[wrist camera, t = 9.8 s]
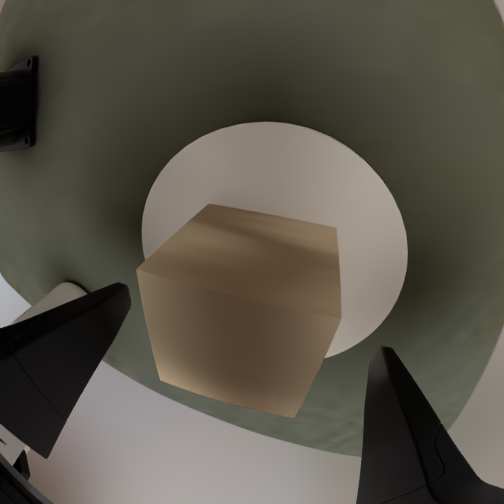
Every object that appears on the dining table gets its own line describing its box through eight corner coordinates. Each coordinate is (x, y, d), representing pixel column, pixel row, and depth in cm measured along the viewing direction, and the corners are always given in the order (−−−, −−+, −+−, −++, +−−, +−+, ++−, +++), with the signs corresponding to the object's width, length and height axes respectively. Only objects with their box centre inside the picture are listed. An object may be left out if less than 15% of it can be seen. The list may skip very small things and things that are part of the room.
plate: (162, 320, 16) (155, 330, 16) (150, 114, 10) (137, 116, 9) (352, 365, 14) (353, 378, 14) (435, 159, 8) (444, 164, 8)
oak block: (207, 300, 13) (160, 380, 9) (208, 203, 11) (136, 269, 6) (308, 324, 12) (293, 418, 8) (336, 227, 10) (341, 318, 6)
